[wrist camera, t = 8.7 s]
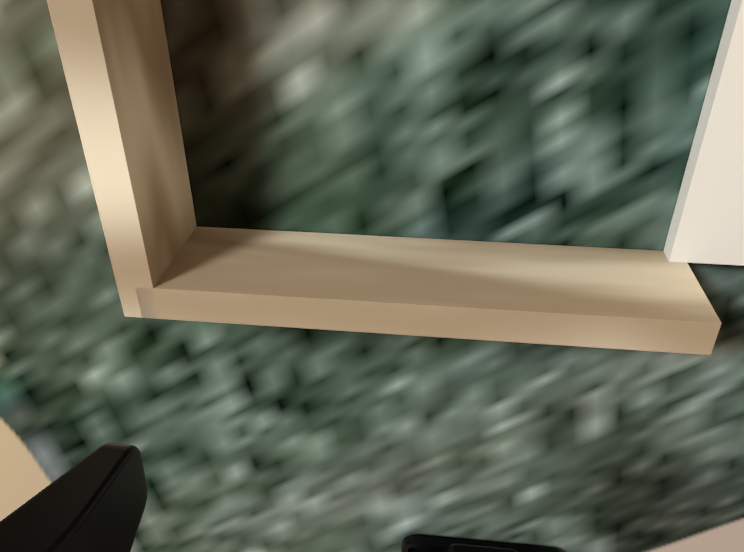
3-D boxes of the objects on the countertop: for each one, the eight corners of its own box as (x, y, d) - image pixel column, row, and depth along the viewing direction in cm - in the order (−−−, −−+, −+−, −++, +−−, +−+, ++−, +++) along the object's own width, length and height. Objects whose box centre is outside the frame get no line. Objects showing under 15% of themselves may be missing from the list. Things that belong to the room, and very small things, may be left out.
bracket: (672, 281, 20) (710, 355, 17) (170, 252, 21) (124, 316, 18) (903, -516, 11) (1061, -647, 8) (33, -474, 13) (-95, -573, 10)
